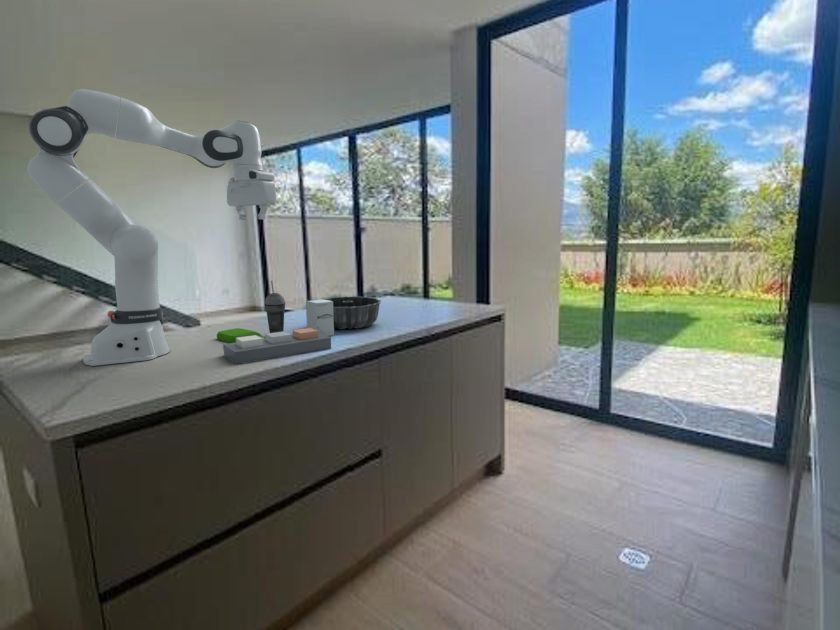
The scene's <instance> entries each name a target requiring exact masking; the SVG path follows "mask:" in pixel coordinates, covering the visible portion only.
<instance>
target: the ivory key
mask: <svg viewBox="0 0 840 630" xmlns="http://www.w3.org/2000/svg"><path fill="white" fill-rule="evenodd" d="M236 346H238V347H240V348H241V349H244V348H251V347H257V346H263V339H262V338H260V337H258V336H256V335H253V336H246V337H238V338H236Z"/></svg>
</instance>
